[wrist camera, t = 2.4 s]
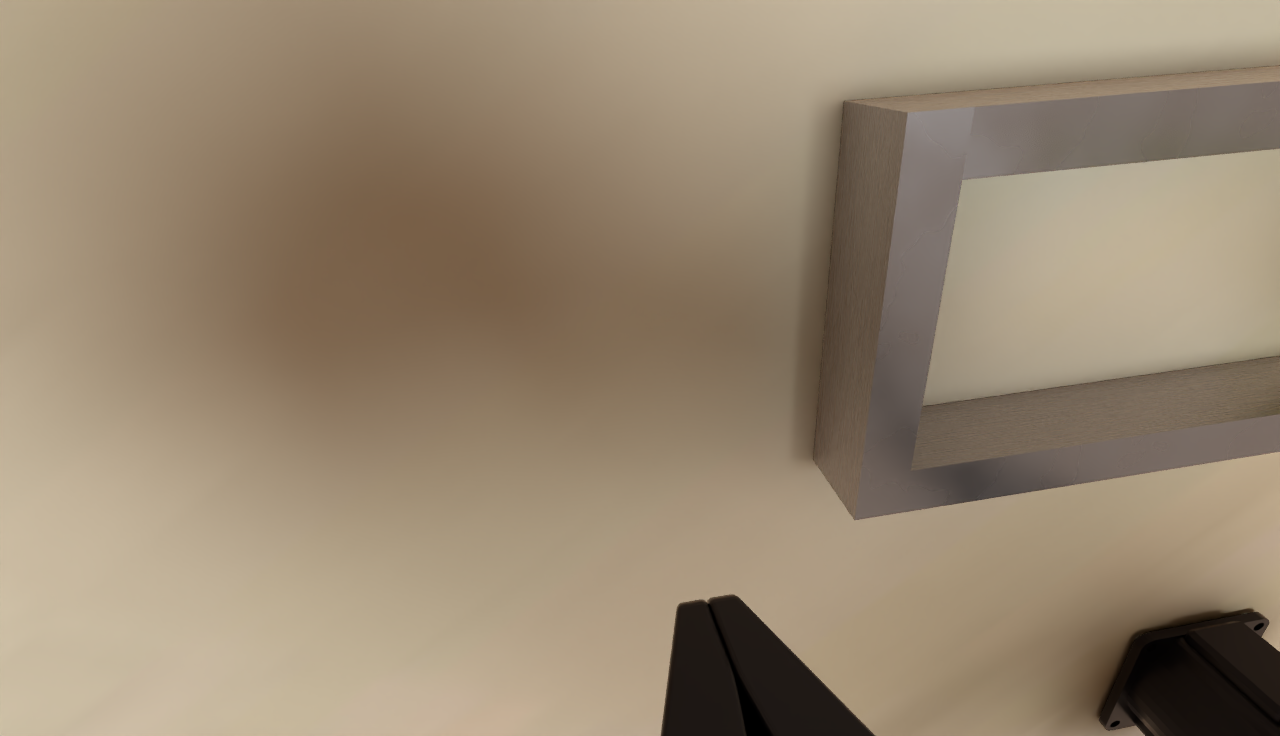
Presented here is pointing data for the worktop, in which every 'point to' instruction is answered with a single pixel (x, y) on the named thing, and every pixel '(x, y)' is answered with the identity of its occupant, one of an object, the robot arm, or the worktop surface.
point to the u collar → (914, 277)
